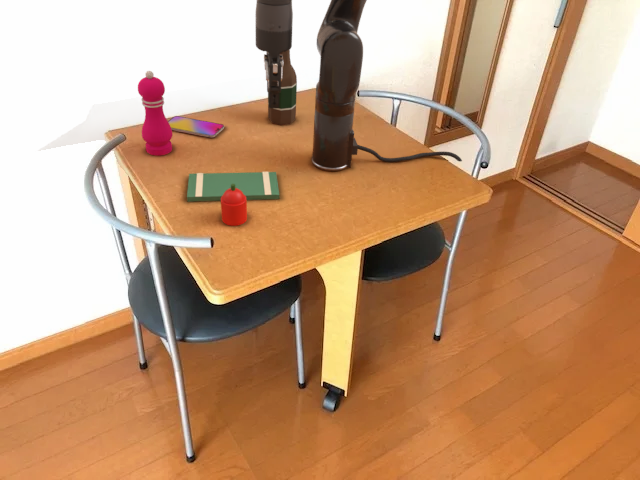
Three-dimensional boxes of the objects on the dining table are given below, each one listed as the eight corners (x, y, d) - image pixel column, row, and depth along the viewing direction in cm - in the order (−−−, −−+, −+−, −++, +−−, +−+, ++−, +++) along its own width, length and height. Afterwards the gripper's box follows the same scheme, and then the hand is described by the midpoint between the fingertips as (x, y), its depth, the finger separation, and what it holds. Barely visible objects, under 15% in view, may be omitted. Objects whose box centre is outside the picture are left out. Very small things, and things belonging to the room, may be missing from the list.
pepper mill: (166, 158, 134) (157, 78, 122) (139, 154, 135) (126, 74, 123) (178, 145, 140) (170, 67, 128) (152, 141, 141) (141, 63, 129)
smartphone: (175, 115, 152) (225, 124, 149) (175, 117, 152) (225, 127, 149) (161, 126, 146) (213, 136, 143) (162, 128, 147) (213, 138, 143)
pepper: (246, 211, 118) (245, 177, 113) (247, 225, 114) (246, 191, 109) (221, 212, 117) (219, 178, 112) (221, 226, 113) (219, 191, 108)
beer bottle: (294, 126, 152) (297, 38, 138) (266, 124, 152) (266, 36, 138) (296, 114, 159) (299, 28, 144) (269, 113, 158) (269, 27, 144)
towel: (276, 176, 130) (276, 171, 130) (279, 199, 123) (279, 194, 122) (189, 178, 127) (189, 173, 127) (187, 201, 120) (186, 196, 119)
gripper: (295, 35, 107) (292, 113, 117) (289, 15, 119) (287, 87, 128) (256, 34, 106) (256, 113, 116) (254, 14, 118) (255, 87, 127)
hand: (272, 99), depth 122 cm, fingers open, 8 cm apart
